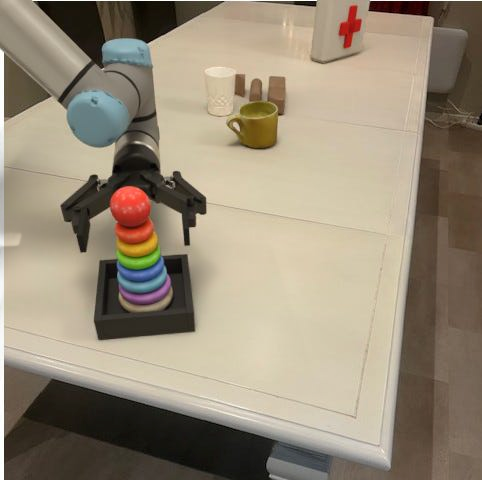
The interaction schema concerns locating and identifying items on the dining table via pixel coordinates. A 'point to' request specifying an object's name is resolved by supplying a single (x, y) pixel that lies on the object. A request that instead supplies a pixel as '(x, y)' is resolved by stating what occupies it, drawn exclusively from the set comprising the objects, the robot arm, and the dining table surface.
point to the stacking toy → (138, 254)
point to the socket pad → (151, 322)
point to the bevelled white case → (338, 29)
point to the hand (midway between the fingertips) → (134, 240)
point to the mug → (256, 124)
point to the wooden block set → (274, 91)
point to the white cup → (220, 90)
